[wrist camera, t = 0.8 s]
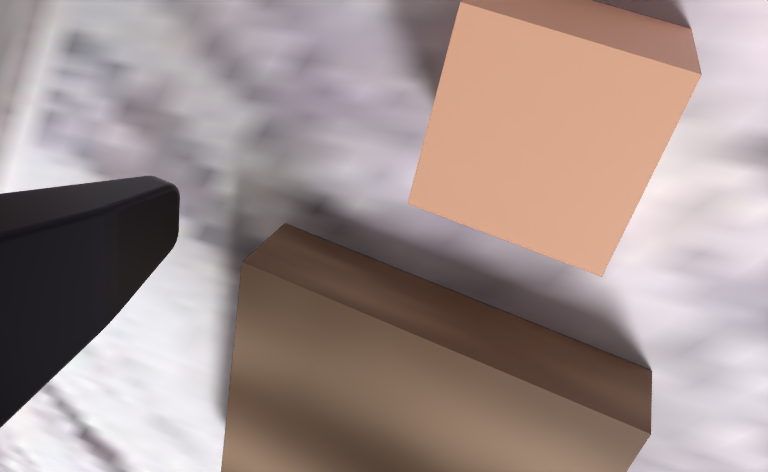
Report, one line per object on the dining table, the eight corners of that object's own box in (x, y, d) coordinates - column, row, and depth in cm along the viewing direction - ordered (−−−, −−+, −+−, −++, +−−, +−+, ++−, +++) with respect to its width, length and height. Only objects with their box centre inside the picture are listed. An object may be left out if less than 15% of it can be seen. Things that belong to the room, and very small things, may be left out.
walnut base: (519, 587, 29) (506, 652, 26) (252, 455, 32) (217, 503, 29) (652, 370, 21) (650, 434, 19) (284, 223, 24) (241, 262, 22)
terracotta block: (614, 193, 19) (601, 277, 15) (458, 139, 20) (407, 203, 16) (691, 28, 16) (701, 74, 12) (507, -25, 17) (460, 2, 13)
